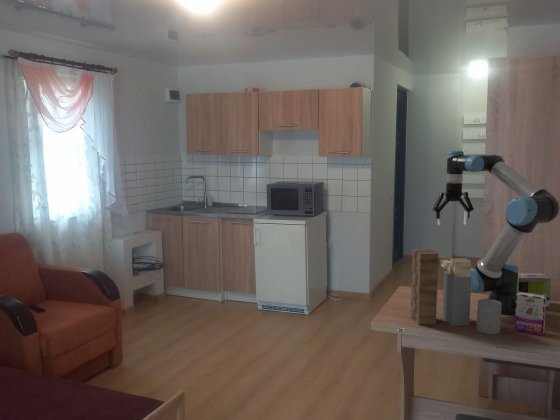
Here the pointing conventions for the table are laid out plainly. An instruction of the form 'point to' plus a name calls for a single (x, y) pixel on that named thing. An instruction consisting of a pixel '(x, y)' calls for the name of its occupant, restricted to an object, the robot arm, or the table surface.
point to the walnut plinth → (424, 286)
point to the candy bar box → (530, 313)
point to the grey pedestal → (456, 299)
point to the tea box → (534, 284)
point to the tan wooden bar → (457, 267)
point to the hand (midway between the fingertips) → (452, 224)
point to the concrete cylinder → (489, 316)
